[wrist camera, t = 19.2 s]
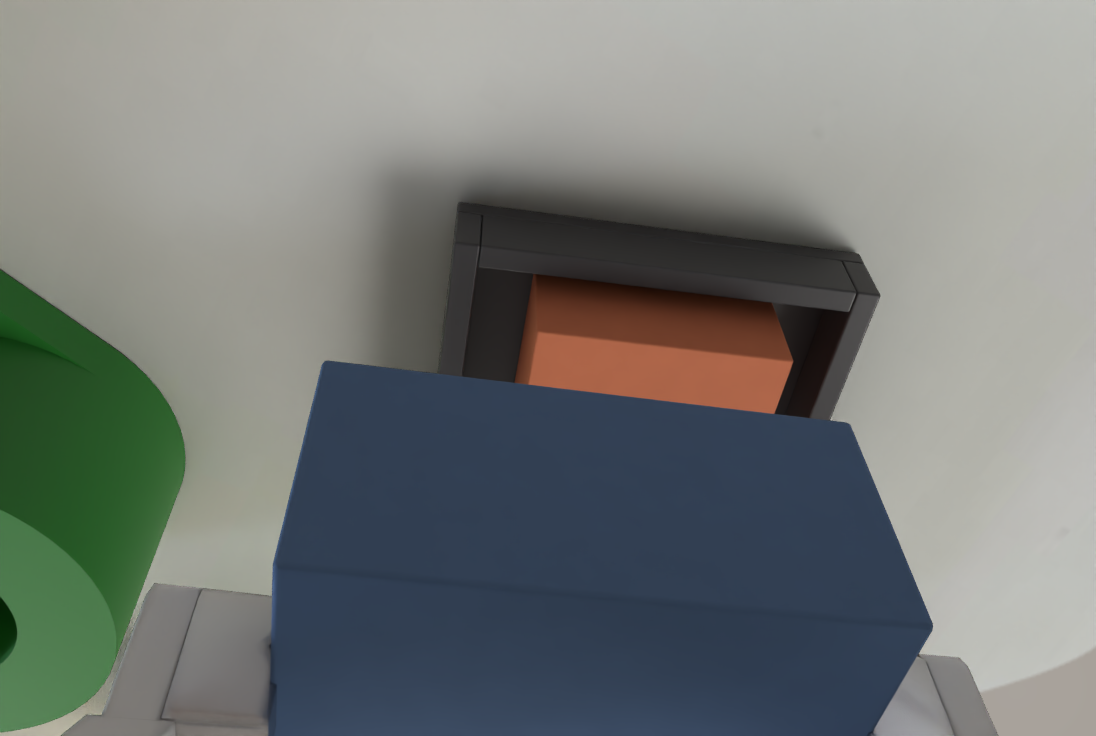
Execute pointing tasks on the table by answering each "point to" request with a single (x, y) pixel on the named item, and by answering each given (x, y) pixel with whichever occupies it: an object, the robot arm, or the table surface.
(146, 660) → the robot arm
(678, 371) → the pad
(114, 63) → the table surface
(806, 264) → the backing tray
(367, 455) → the pad
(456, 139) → the table surface
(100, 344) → the green bracket
